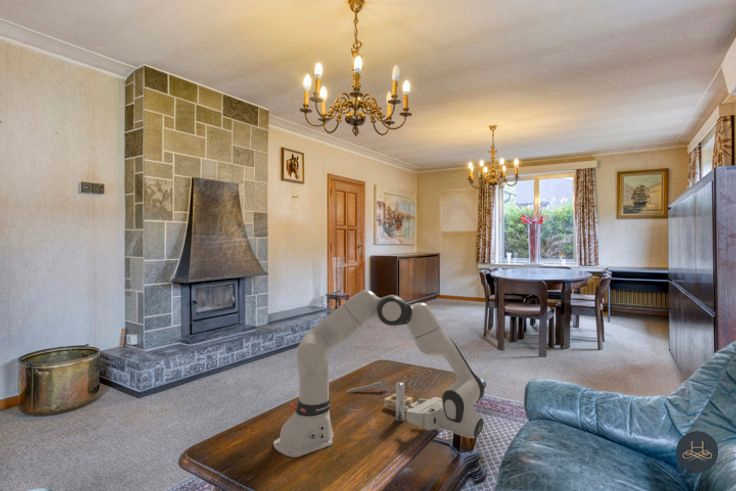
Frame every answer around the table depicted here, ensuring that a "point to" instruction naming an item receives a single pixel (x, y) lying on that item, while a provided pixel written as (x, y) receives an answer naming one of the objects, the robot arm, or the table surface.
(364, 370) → the table surface
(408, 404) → the bore block
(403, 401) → the grey rounded cylinder
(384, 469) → the table surface
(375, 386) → the caliper
